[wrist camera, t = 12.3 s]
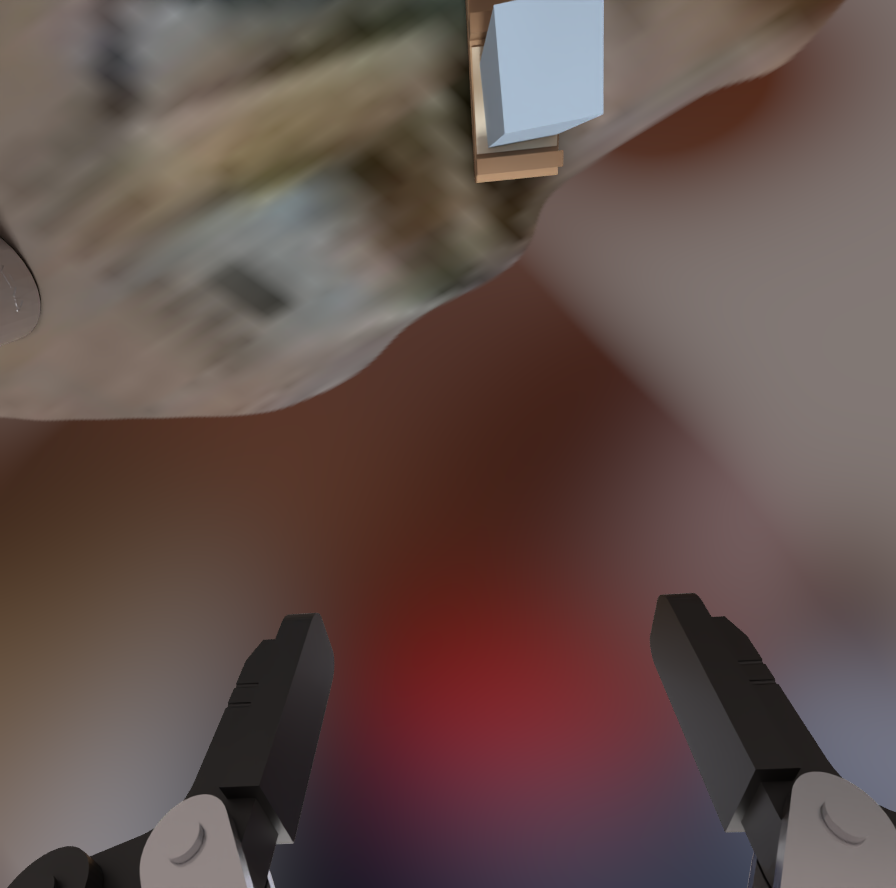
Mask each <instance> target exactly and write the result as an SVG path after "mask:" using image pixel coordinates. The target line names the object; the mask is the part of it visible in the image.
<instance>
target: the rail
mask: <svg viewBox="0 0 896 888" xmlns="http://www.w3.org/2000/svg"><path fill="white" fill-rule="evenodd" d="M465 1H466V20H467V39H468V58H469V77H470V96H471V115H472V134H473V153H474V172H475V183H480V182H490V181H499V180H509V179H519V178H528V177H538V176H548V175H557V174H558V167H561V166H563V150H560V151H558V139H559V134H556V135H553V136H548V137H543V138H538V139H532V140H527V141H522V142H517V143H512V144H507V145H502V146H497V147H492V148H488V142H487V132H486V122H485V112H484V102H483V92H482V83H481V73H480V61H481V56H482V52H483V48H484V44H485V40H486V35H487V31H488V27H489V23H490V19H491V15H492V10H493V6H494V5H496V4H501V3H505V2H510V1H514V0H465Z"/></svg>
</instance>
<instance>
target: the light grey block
mask: <svg viewBox="0 0 896 888" xmlns="http://www.w3.org/2000/svg"><path fill="white" fill-rule="evenodd" d="M603 33H604V0H514V1H510V2H505V3H501V4H496V5H494V6H493V10H492V15H491V19H490V23H489V27H488V31H487V35H486V40H485V44H484V48H483V52H482V56H481V61H480V73H481V83H482V92H483V102H484V112H485V122H486V132H487V142H488V148H492V147H497V146H502V145H507V144H512V143H517V142H522V141H527V140H532V139H538V138H543V137H548V136H553V135H556V134H559V133H561V132H563V131H566V130H568V129H570V128H573V127H575V126H577V125H579V124H582V123H584V122H586V121H589V120H591V119H593V118H596V117H598V116H600V115H602V114H603Z"/></svg>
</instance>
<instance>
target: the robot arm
mask: <svg viewBox="0 0 896 888" xmlns="http://www.w3.org/2000/svg"><path fill="white" fill-rule="evenodd" d="M39 316H40V298H39V293H38V289H37V286H36V284H35V282H34V279H33V277H32V275H31V273H30V272H29V270H28V268H27V267H26V265H25V264H24V262H23V261H22V260H21V258H20V257H19V256H18V255H17V254H16V252H15V251H14V250H13V249H12V248H11V247H10V246H9V245H8V244H7V243H6V242H5V241H3V240H2V239H1V238H0V346H2V345H5V344H8V343H10V342H13V341H16V340H18V339H21V338H23V337H25V336H26V335H28V334H29V333H30V332H32V330H33V329H34V327H35V326H36V325H37V322H38V319H39ZM650 647H651V653H652V657H653V661H654V664H655V666H656V669H657V671H658V674H659V676H660V678H661V680H662V683H663V685H664V688H665V690H666V693H667V695H668V697H669V700H670V702H671V704H672V707H673V709H674V712H675V714H676V716H677V719H678V721H679V724H680V726H681V728H682V731H683V733H684V735H685V738H686V740H687V742H688V745H689V747H690V750H691V752H692V754H693V757H694V759H695V762H696V764H697V766H698V769H699V771H700V773H701V776H702V778H703V780H704V783H705V785H706V788H707V790H708V792H709V795H710V797H711V799H712V802H713V804H714V807H715V809H716V811H717V814H718V816H719V819H720V821H721V823H722V826H723V828H724V831H725V832H746V835H747V837H748V839H749V841H750V843H751V846H752V848H753V850H754V854H753V857H752V863H751V870H750V875H749V881H748V887H747V888H896V812H894V811H891V810H888V809H886V808H884V807H882V806H880V805H878V804H877V803H876V802H875V801H874V800H873V799H872V798H871V797H870V796H868V795H867V794H866V793H865V792H864V791H862V790H861V789H860V788H858V787H857V786H855V785H853V784H852V783H850V782H849V781H847V780H845V779H843V778H842V777H841V776H840V775H839V774H838V773H837V771H836V770H835V769H834V768H833V767H832V765H831V764H830V763H829V761H828V760H827V759H826V757H825V755H824V754H823V752H822V751H821V749H820V748H819V746H818V745H817V743H816V741H815V740H814V738H813V737H812V735H811V734H810V732H809V731H808V730H807V728H806V726H805V724H804V723H803V721H802V720H801V718H800V717H799V715H798V714H797V712H796V711H795V709H794V707H793V706H792V704H791V703H790V701H789V700H788V699H787V697H786V695H785V694H784V692H783V691H782V689H781V687H780V686H779V684H776V682H775V678H774V677H773V675H772V674H771V672H770V671H769V669H768V668H767V666H766V664H763V662H762V658H761V657H760V655H759V654H758V652H757V650H756V649H755V647H754V646H753V644H752V643H751V641H750V640H749V638H748V637H747V636H746V635H745V634H744V633H743V632H742V631H741V630H740V629H738V628H737V627H736V626H735V625H734V624H733V623H732V622H730V621H729V620H728V619H727V618H726V617H725V616H723V617H711V615H710V614H709V612H708V610H707V609H706V607H705V605H704V604H703V602H702V600H701V599H700V598H699V596H698V595H696V594H695V593H686V594H668V595H660V596H659V597H658V600H657V605H656V610H655V615H654V620H653V625H652V630H651V635H650ZM333 674H334V655H333V650H332V648H331V644H330V642H329V638H328V635H327V632H326V630H325V627H324V624H323V621H322V618H321V616H320V614H319V613H309V614H293V615H287V616H285V618H284V619H283V621H282V623H281V626H280V628H279V631H278V634H277V636H276V639H273V640H272V639H271V640H263V641H262V642H261V643H260V644H259V646H258V647H257V648H256V649H255V650H254V652H253V653H252V654H251V655H250V656H249V658H248V659H247V660H246V662H245V664H244V667H243V669H242V671H241V674H240V676H239V678H238V681H237V683H236V685H237V686H236V688H234V690H233V693H232V695H231V697H230V699H229V702H228V707H227V708H226V709H225V711H224V714H223V716H222V718H221V721H220V723H219V725H218V728H217V730H216V732H215V735H214V737H213V740H212V742H211V744H210V746H209V749H208V751H207V753H206V756H205V758H204V760H203V763H202V765H201V768H200V770H199V772H198V774H197V777H196V779H195V782H194V784H193V786H192V788H191V790H190V791H189V793H188V794H187V796H186V798H185V799H184V800H183V801H182V802H181V803H179V804H178V805H176V806H175V807H174V808H172V809H171V810H170V811H169V812H168V813H167V814H166V815H165V816H164V817H163V818H162V819H161V820H160V822H159V823H158V824H157V826H156V827H155V828H154V829H152V830H151V831H149V832H147V833H145V834H143V835H141V836H139V837H136V838H134V839H131V840H129V841H127V842H124V843H122V844H119V845H117V846H114V847H112V848H110V849H107V850H105V851H102V852H100V853H97V854H95V855H93V856H88V855H87V854H86V853H85V852H84V851H82V850H81V849H80V848H77V847H73V846H72V847H71V846H67V847H62V848H58V849H56V850H53V851H51V852H49V853H47V854H45V855H43V856H42V857H40V858H39V859H37V860H36V861H34V862H33V863H32V864H31V865H29V866H28V867H27V868H26V869H25V870H24V871H22V872H21V873H20V874H19V875H18V876H17V877H16V879H15V880H14V881H13V882H12V883H11V884H10V885H9V886H8V888H275V886H274V883H273V880H272V877H271V873H270V871H269V869H270V865H271V861H272V857H273V853H274V850H275V846H276V844H292V843H294V840H295V836H296V832H297V827H298V823H299V819H300V815H301V811H302V807H303V802H304V798H305V794H306V790H307V786H308V781H309V777H310V773H311V769H312V764H313V760H314V756H315V752H316V748H317V743H318V739H319V735H320V731H321V727H322V722H323V718H324V714H325V710H326V705H327V701H328V697H329V693H330V688H331V684H332V680H333Z"/></svg>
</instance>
